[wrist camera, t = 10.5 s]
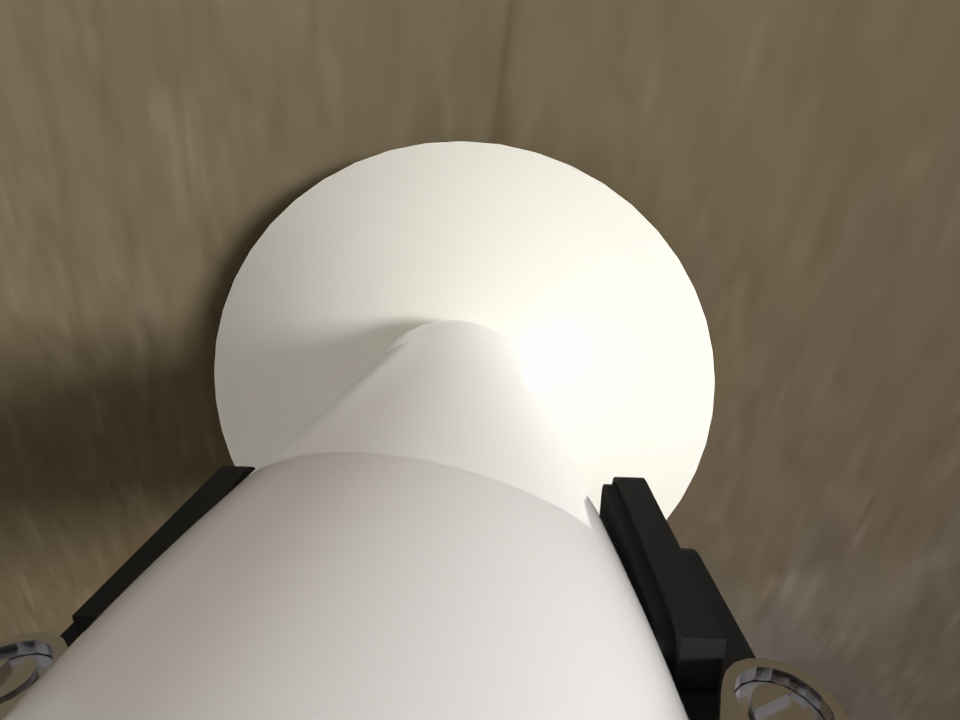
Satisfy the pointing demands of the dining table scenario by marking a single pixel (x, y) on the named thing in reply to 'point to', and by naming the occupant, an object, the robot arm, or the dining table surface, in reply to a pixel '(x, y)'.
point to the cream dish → (474, 304)
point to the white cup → (386, 571)
